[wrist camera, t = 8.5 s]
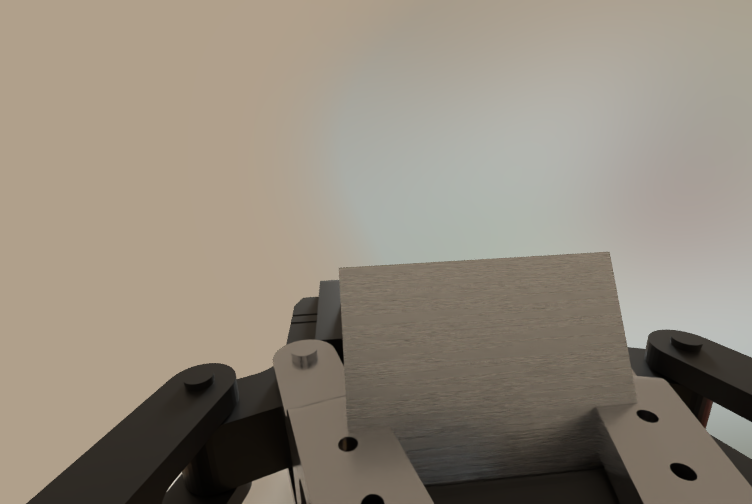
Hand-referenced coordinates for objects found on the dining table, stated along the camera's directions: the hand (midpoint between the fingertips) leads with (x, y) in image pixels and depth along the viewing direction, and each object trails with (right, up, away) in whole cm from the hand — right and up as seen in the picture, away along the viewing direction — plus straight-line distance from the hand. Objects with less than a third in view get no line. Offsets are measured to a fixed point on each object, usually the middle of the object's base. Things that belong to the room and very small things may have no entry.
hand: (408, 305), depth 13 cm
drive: (0, -4, +5) cm, 7 cm away
